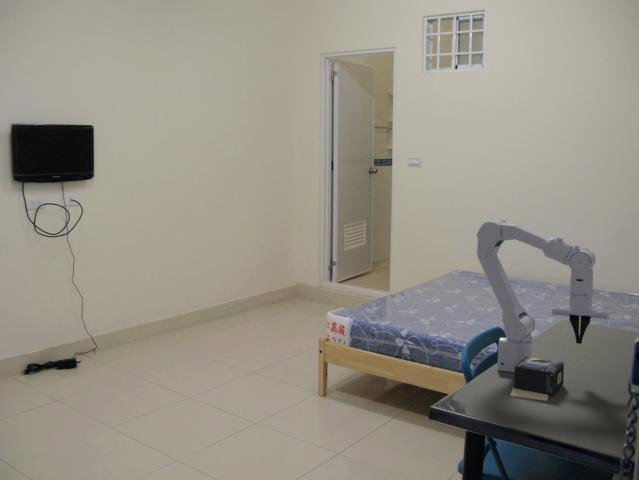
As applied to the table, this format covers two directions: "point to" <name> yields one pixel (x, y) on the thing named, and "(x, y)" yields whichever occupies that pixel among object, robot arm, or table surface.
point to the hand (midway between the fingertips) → (579, 342)
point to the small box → (539, 375)
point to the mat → (528, 394)
